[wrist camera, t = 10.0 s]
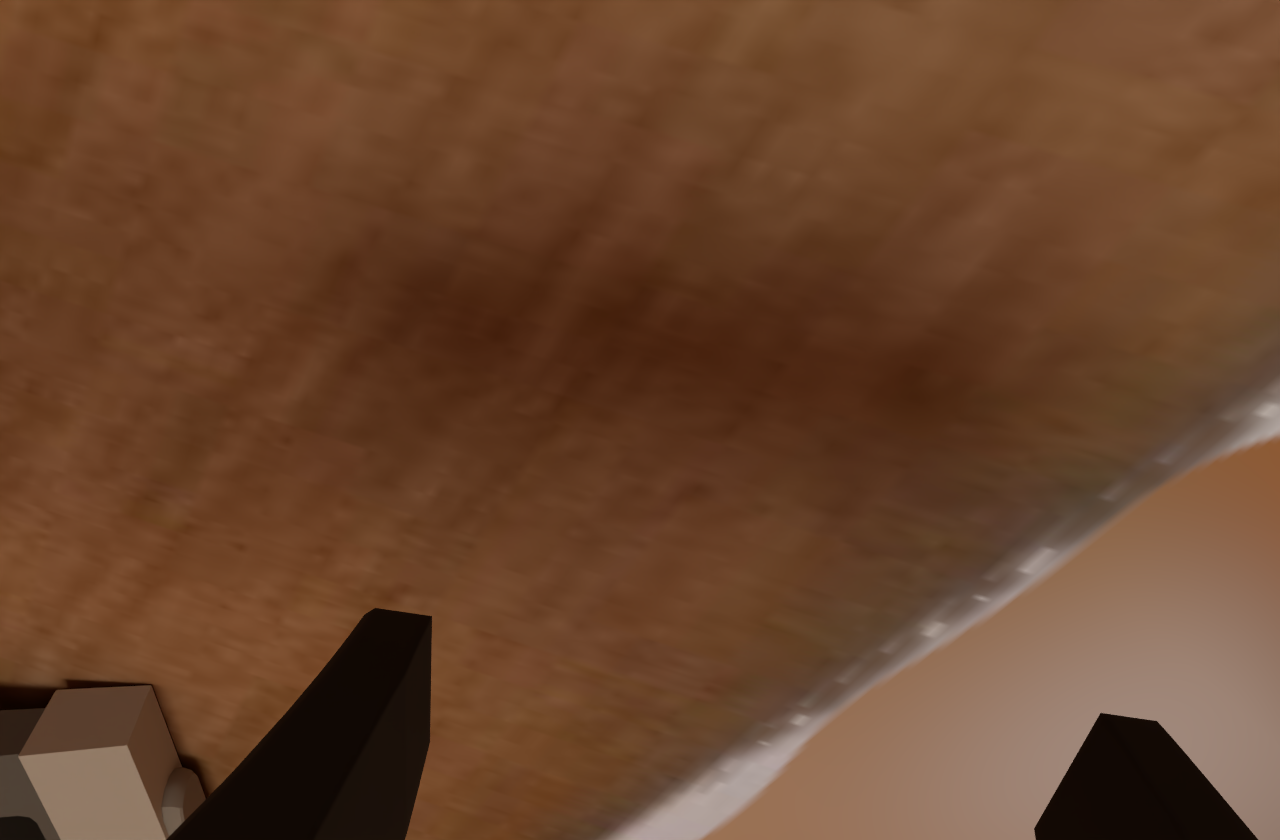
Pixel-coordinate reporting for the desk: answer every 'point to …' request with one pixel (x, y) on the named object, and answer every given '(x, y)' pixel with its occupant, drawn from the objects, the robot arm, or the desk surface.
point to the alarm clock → (93, 769)
